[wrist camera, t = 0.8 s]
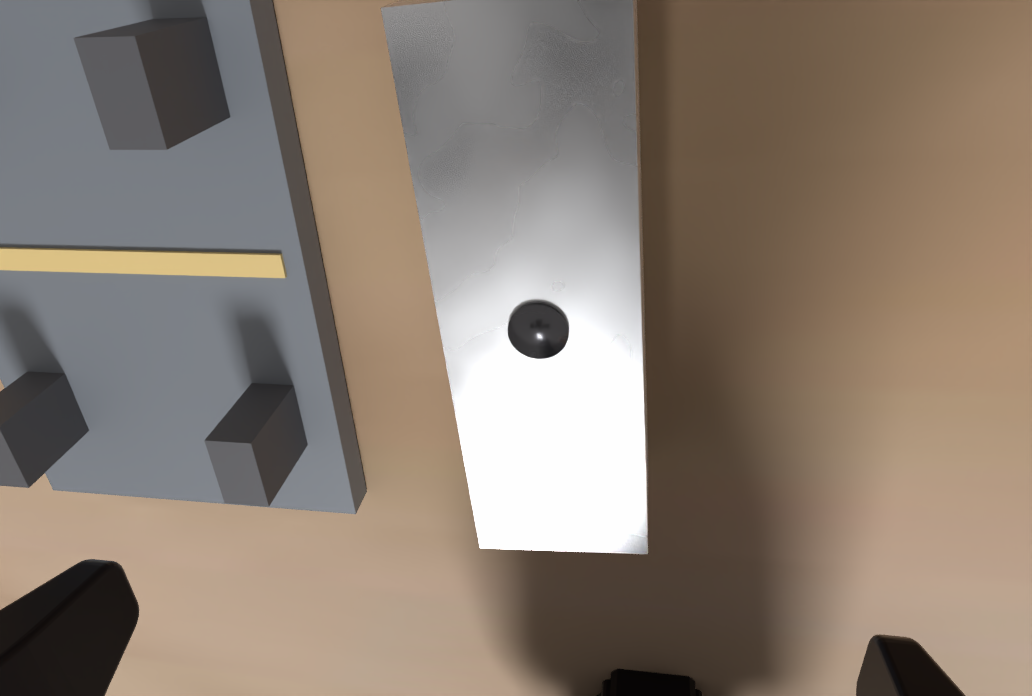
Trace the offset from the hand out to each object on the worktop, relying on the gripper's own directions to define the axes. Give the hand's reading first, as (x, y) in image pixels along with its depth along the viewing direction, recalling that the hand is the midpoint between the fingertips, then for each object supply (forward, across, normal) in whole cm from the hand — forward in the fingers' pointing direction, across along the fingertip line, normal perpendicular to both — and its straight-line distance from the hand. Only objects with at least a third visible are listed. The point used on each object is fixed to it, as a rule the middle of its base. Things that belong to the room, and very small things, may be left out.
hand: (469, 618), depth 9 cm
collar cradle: (+10, +11, 0) cm, 15 cm away
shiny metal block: (+11, 0, 0) cm, 11 cm away
